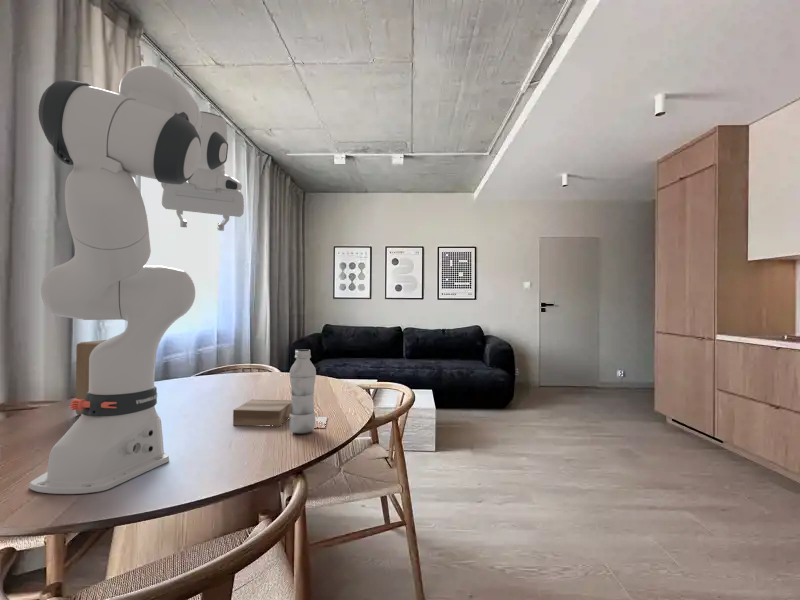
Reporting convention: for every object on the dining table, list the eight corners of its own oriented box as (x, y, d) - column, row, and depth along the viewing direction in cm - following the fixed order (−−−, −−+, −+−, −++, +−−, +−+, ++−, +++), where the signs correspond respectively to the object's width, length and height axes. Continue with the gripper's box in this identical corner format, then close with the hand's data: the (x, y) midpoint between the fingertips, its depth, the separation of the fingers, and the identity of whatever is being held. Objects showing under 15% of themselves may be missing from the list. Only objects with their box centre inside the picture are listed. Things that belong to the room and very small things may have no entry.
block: (73, 415, 122) (74, 342, 122) (107, 407, 131) (108, 339, 131) (101, 418, 119) (102, 343, 119) (134, 410, 129) (134, 340, 129)
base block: (279, 426, 113) (279, 411, 113) (233, 425, 114) (233, 409, 114) (293, 414, 125) (293, 400, 125) (251, 413, 126) (251, 399, 126)
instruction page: (325, 428, 112) (325, 426, 112) (292, 429, 111) (292, 427, 111) (327, 417, 122) (327, 416, 122) (297, 418, 121) (297, 417, 121)
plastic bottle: (283, 435, 106) (283, 351, 106) (296, 427, 113) (297, 348, 113) (307, 437, 104) (308, 352, 104) (320, 429, 111) (321, 349, 111)
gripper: (162, 173, 110) (160, 227, 115) (247, 185, 121) (242, 235, 125) (161, 169, 115) (158, 221, 120) (243, 181, 126) (238, 229, 130)
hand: (202, 228), depth 123 cm, fingers open, 8 cm apart
